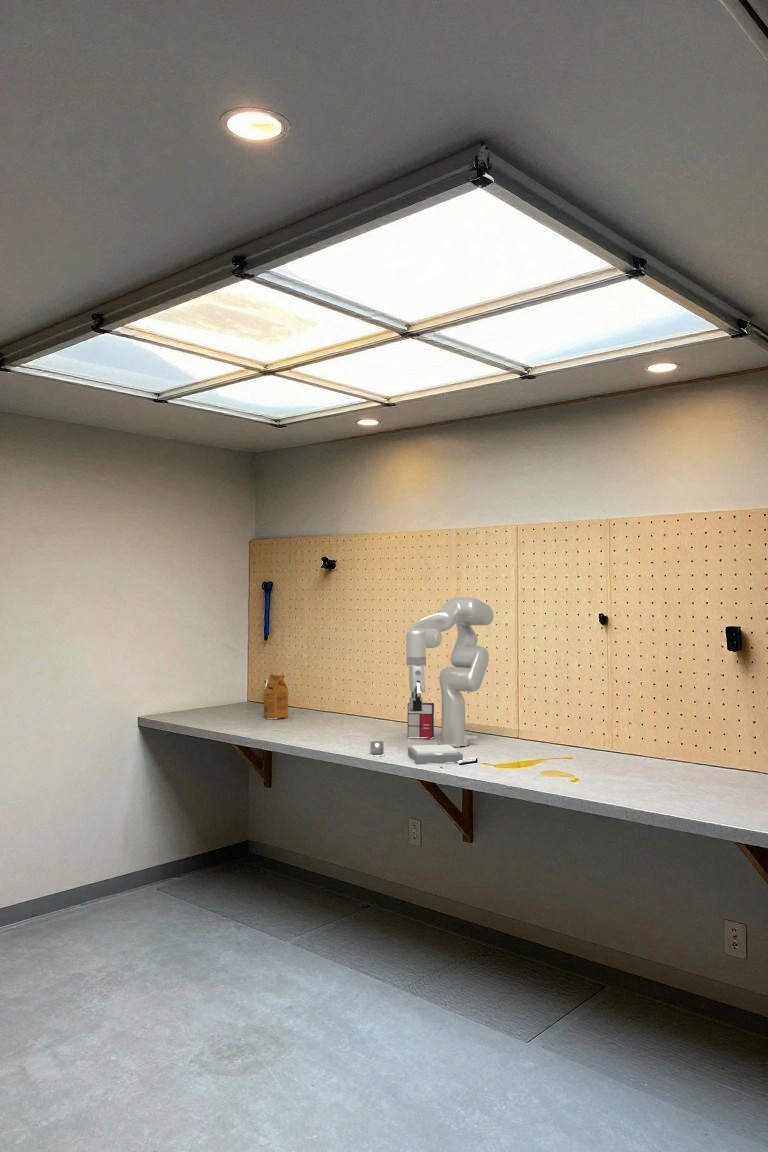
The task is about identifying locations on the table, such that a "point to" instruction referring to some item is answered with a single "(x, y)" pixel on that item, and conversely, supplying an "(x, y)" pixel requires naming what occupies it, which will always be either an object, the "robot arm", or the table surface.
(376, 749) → the spacer
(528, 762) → the table surface
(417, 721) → the grey and red box
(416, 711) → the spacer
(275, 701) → the coffee package
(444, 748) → the block
